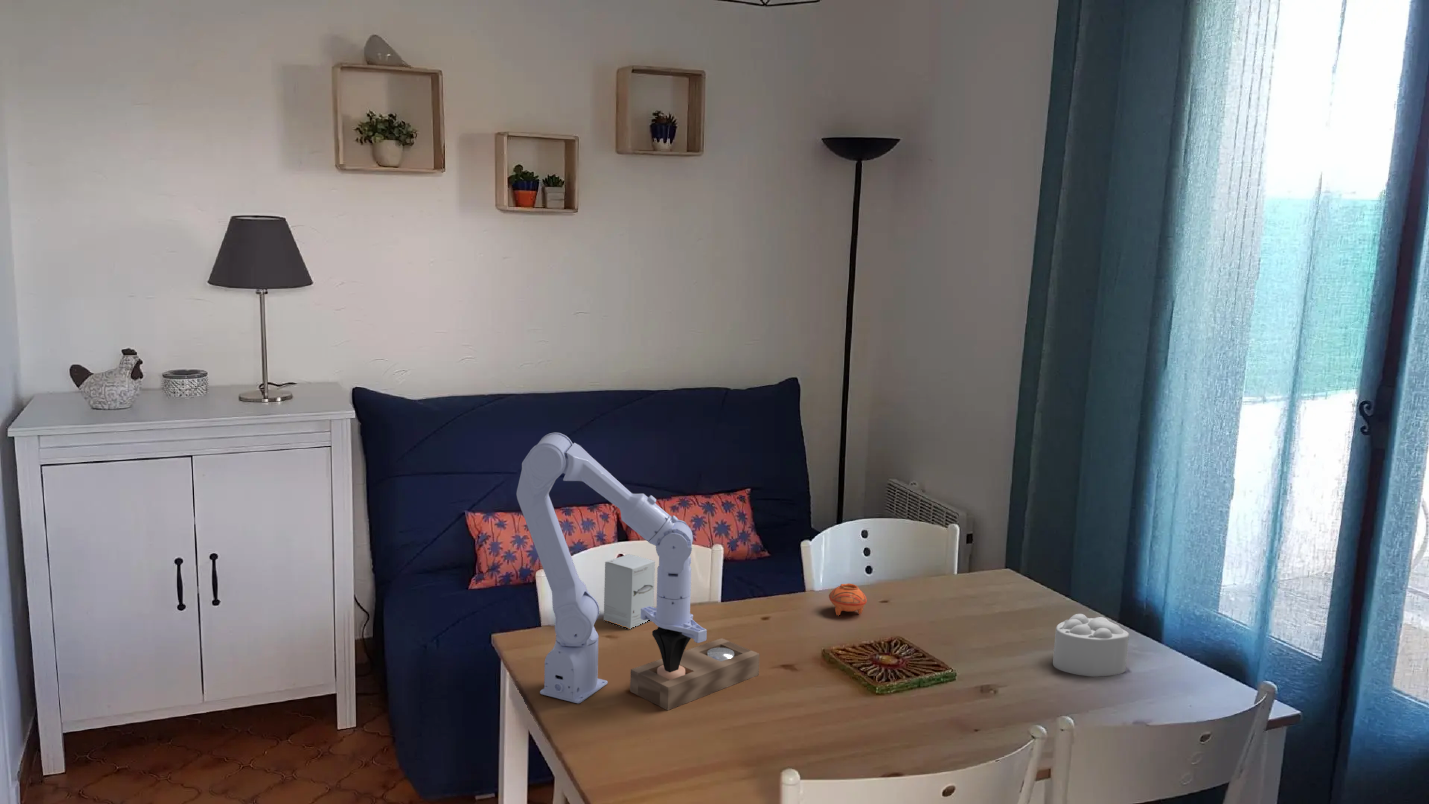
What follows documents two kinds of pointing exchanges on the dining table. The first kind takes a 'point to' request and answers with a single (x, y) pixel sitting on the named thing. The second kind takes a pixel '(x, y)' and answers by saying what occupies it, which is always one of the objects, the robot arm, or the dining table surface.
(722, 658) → the far peg
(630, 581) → the supplement box
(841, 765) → the dining table surface
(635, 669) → the wooden peg holder
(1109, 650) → the lumpy-topped squat cylinder
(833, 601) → the pot
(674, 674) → the near peg
